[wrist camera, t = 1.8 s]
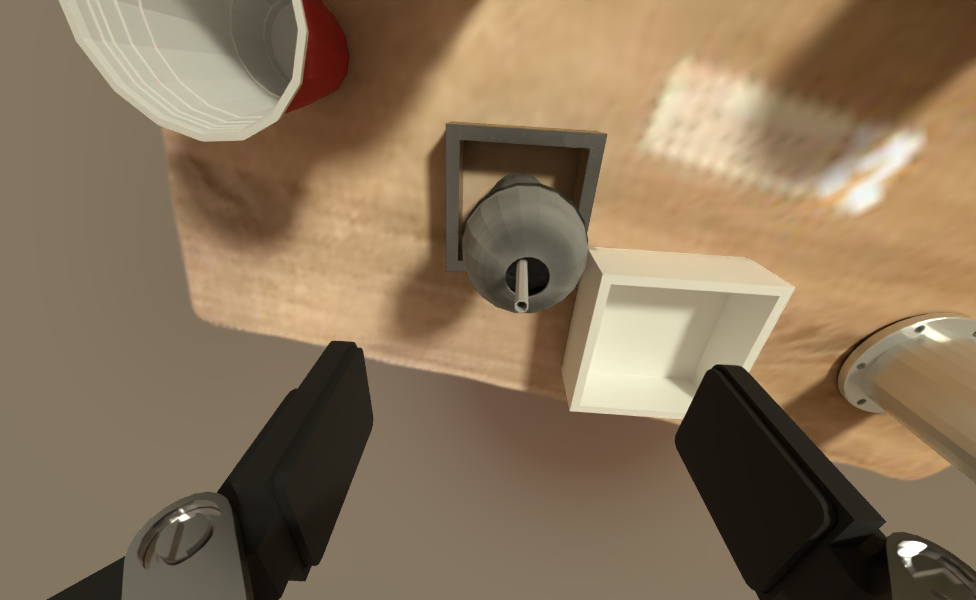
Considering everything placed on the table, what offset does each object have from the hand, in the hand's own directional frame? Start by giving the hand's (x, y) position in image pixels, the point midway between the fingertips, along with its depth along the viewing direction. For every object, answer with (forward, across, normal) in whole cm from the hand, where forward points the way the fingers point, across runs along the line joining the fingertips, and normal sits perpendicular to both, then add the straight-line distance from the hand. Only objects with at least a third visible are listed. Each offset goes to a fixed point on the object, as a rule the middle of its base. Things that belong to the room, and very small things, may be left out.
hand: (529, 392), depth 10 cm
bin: (+23, -15, +11) cm, 30 cm away
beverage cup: (+23, -1, 0) cm, 23 cm away
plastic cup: (+24, +15, -10) cm, 30 cm away
